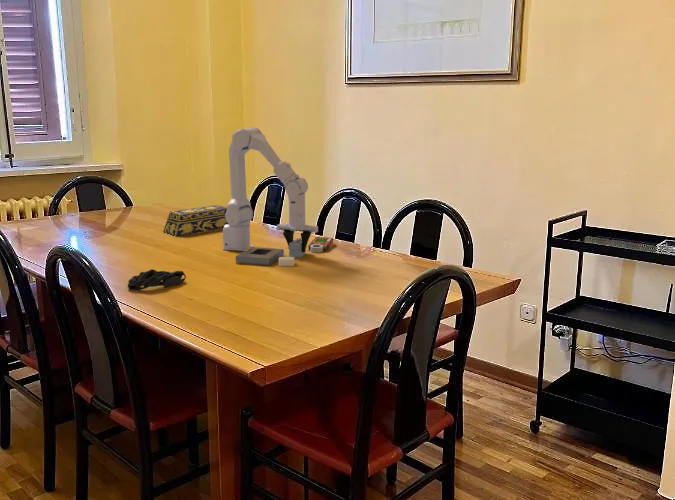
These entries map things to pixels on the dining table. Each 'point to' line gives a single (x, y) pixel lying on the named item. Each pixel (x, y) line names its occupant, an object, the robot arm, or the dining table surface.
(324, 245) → the electronic device
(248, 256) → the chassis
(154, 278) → the cable
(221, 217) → the decorative box
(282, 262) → the box
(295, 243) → the block
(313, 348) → the dining table surface
